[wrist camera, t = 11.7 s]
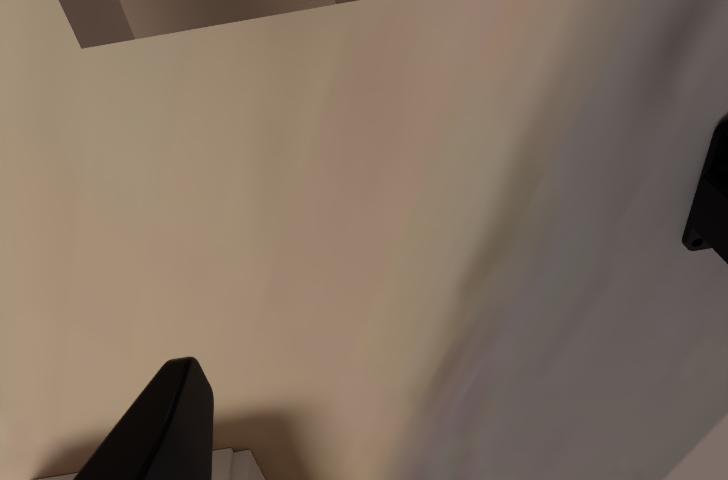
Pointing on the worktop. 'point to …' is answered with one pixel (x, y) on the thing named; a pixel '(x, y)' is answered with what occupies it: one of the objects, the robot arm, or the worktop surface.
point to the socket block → (166, 16)
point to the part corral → (218, 466)
